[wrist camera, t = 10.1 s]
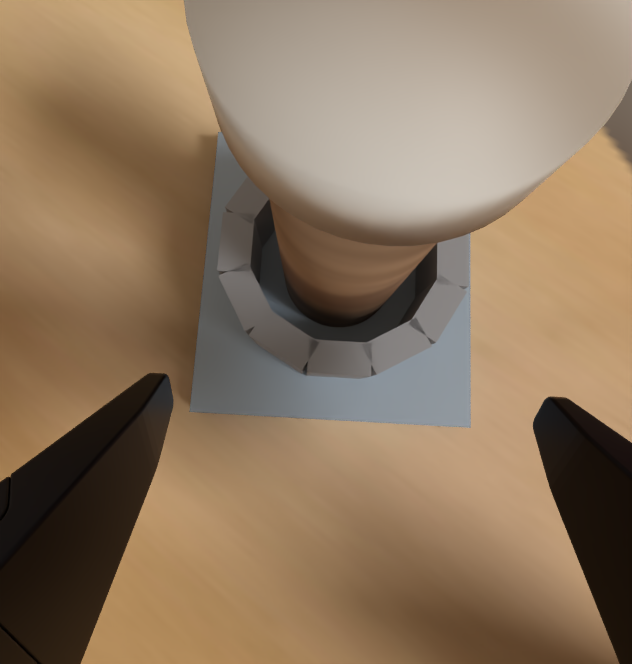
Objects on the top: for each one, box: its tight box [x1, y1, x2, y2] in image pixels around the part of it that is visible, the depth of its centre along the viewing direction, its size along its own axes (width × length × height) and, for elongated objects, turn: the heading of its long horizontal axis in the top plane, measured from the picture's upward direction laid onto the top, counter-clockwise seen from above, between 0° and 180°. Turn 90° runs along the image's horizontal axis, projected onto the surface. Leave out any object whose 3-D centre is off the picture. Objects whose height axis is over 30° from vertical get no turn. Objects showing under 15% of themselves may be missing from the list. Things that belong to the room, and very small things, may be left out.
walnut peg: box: [184, 0, 632, 327], centre depth 12 cm, size 6×6×13 cm
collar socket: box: [190, 132, 471, 428], centre depth 17 cm, size 13×12×4 cm
